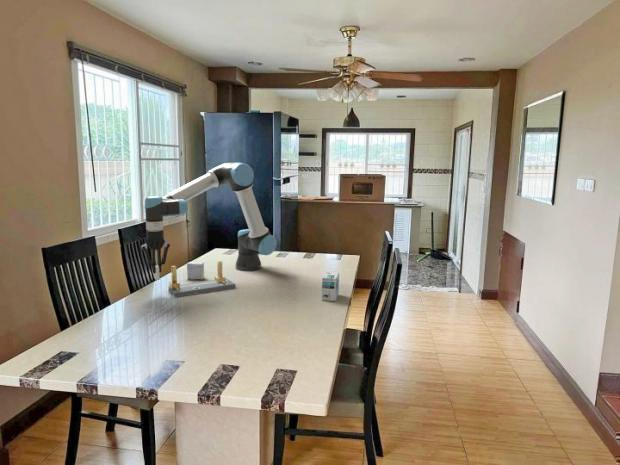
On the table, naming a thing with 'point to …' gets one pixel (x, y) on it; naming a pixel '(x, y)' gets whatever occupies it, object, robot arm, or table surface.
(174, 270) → the gold piece
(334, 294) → the light bulb box
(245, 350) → the table surface
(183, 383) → the table surface
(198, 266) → the medicine box
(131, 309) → the table surface
